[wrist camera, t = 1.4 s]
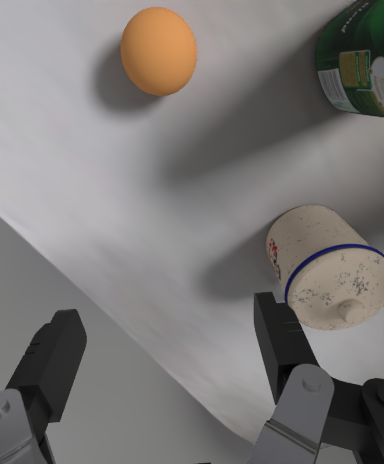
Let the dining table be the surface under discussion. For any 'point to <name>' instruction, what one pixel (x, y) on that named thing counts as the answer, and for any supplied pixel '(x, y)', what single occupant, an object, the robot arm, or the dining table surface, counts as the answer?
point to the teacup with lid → (325, 268)
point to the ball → (158, 51)
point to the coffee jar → (354, 59)
